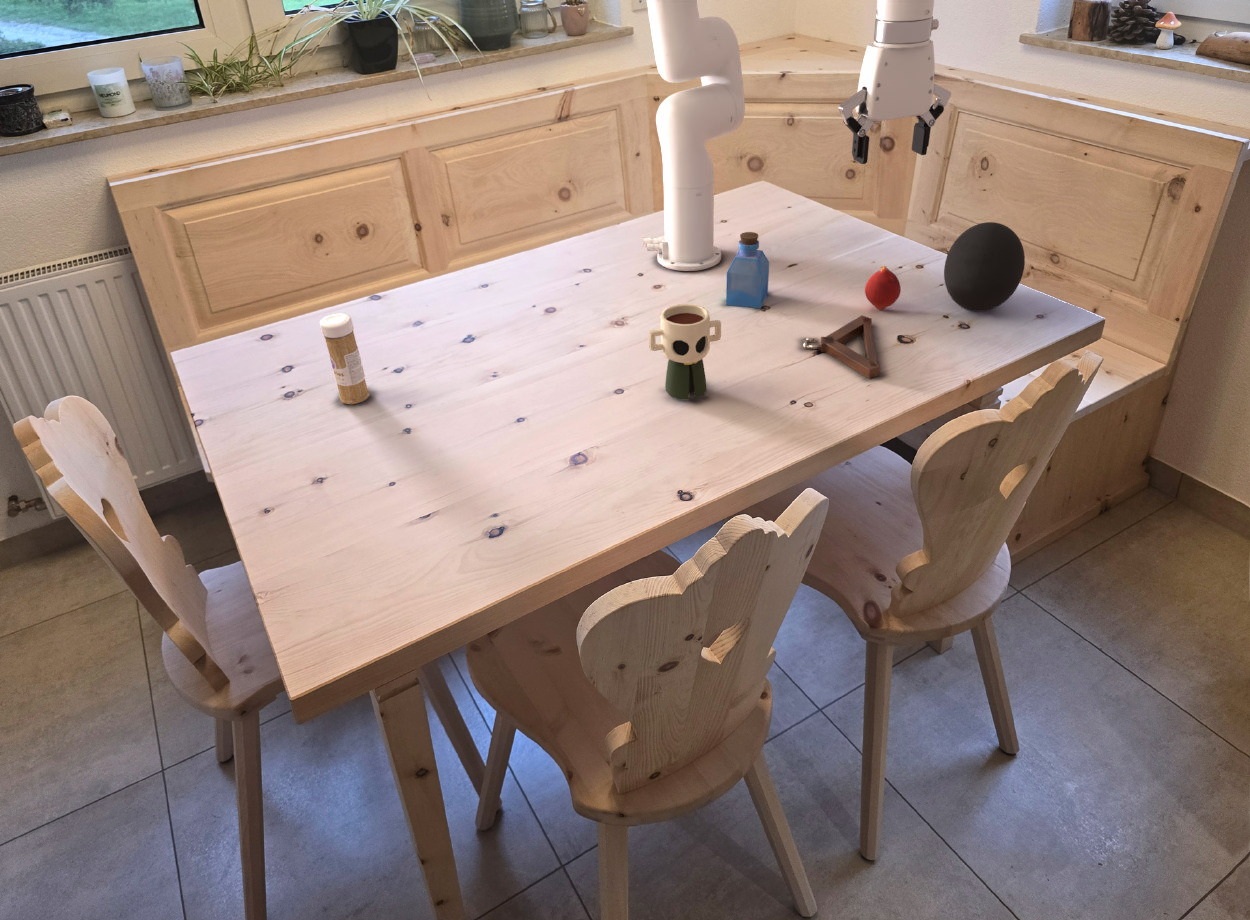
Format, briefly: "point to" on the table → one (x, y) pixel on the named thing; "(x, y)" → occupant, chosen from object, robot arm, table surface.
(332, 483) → the table surface
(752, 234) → the perfume bottle
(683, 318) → the character mug
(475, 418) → the table surface
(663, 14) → the robot arm
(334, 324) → the sprinkles bottle
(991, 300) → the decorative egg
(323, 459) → the table surface
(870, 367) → the hanger
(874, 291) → the onion
